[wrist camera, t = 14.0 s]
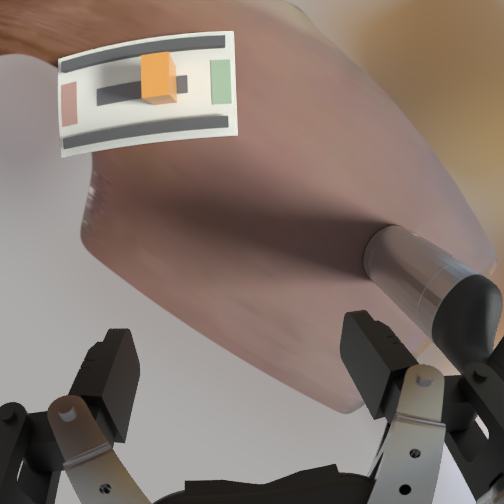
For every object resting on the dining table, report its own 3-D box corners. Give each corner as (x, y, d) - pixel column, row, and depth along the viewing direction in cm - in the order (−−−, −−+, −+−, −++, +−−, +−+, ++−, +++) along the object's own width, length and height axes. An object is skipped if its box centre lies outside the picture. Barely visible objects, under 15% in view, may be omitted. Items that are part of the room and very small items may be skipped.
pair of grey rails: (224, 38, 27) (225, 35, 26) (227, 127, 31) (228, 127, 30) (65, 63, 25) (61, 61, 24) (68, 148, 29) (63, 149, 28)
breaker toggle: (176, 66, 27) (168, 51, 21) (177, 102, 29) (169, 94, 23) (153, 69, 27) (140, 55, 21) (154, 105, 28) (141, 98, 23)
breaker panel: (231, 41, 31) (233, 30, 27) (234, 135, 35) (237, 135, 31) (71, 64, 28) (58, 58, 25) (74, 155, 33) (61, 158, 29)
